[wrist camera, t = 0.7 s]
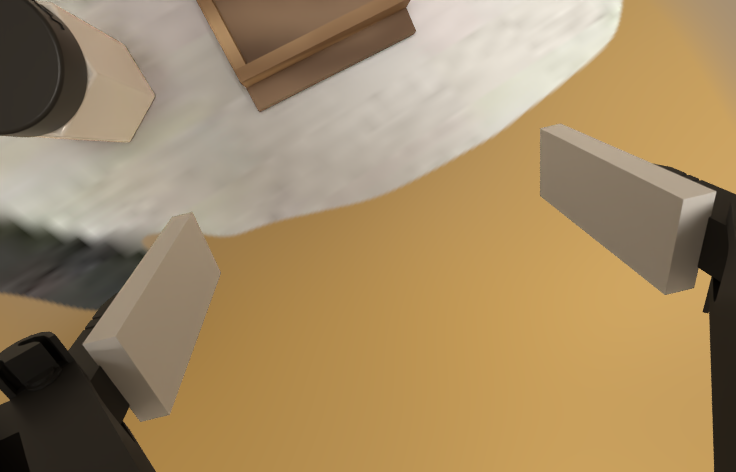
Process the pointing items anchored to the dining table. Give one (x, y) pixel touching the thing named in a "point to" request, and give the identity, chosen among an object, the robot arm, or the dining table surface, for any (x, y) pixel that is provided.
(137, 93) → the jar
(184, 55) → the dining table surface
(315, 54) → the wooden tray
